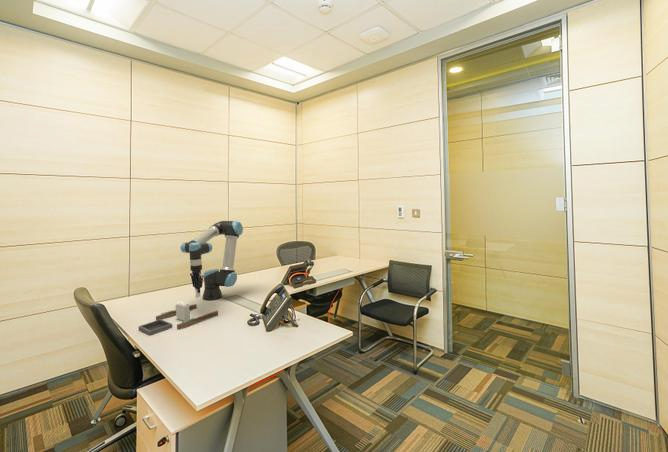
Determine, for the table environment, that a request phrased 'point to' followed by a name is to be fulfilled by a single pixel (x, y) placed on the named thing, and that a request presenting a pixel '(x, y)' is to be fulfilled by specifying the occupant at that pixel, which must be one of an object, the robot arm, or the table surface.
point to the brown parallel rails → (189, 321)
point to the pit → (155, 327)
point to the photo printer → (182, 311)
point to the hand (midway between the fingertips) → (198, 297)
